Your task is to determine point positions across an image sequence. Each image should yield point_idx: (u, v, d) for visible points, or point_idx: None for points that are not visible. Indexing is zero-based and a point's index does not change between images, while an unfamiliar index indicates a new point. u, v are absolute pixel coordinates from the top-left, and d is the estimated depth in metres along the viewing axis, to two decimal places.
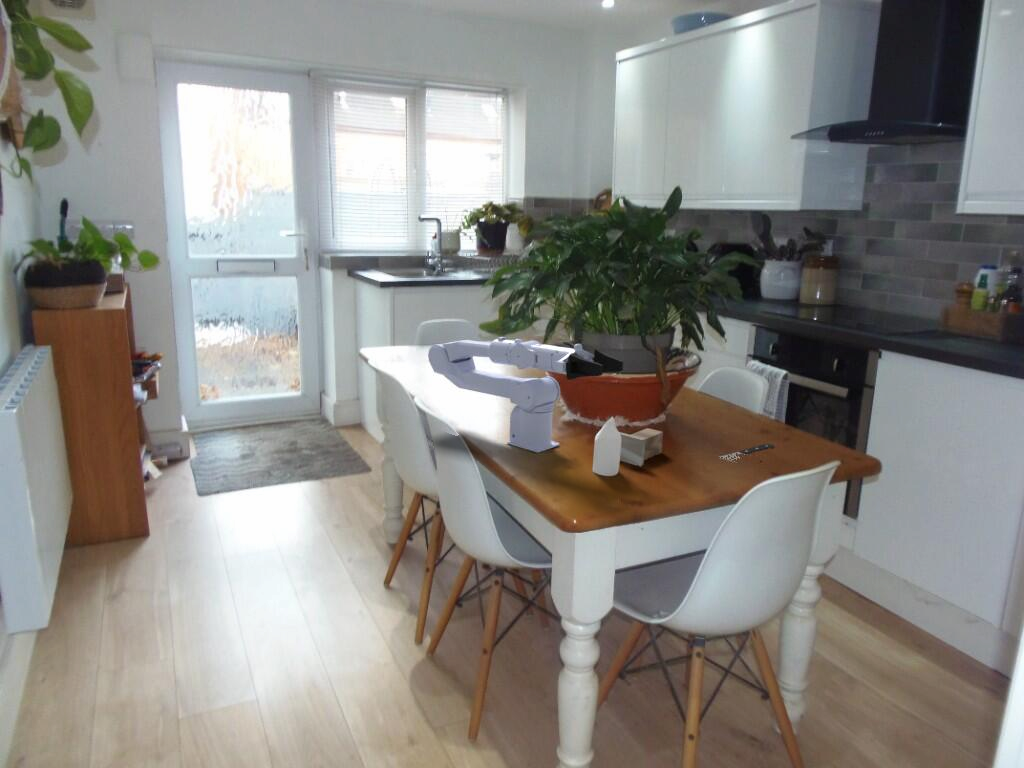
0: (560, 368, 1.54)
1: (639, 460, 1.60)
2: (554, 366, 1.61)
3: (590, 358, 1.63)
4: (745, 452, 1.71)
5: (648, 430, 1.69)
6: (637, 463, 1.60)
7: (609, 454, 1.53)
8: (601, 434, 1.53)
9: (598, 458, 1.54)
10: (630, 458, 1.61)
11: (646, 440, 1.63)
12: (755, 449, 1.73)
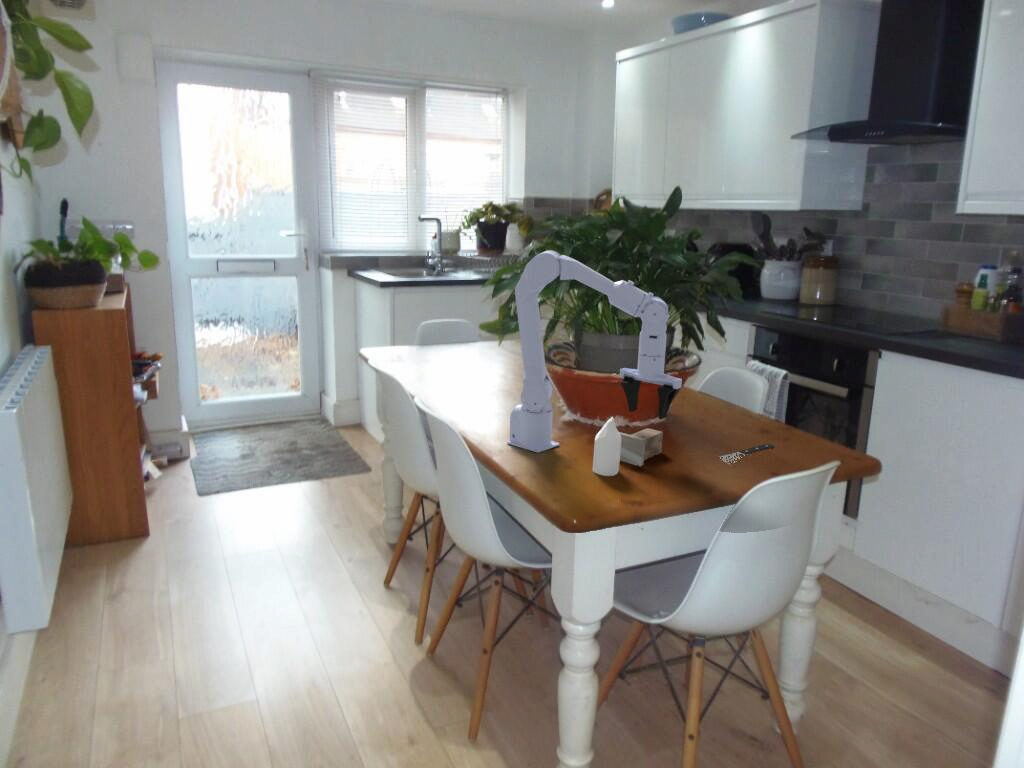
0: (678, 386, 1.58)
1: (639, 460, 1.60)
2: (659, 359, 1.60)
3: None
4: (745, 452, 1.70)
5: (648, 430, 1.69)
6: (637, 463, 1.60)
7: (609, 454, 1.53)
8: (601, 434, 1.53)
9: (598, 458, 1.54)
10: (630, 458, 1.61)
11: (646, 440, 1.63)
12: (755, 449, 1.73)
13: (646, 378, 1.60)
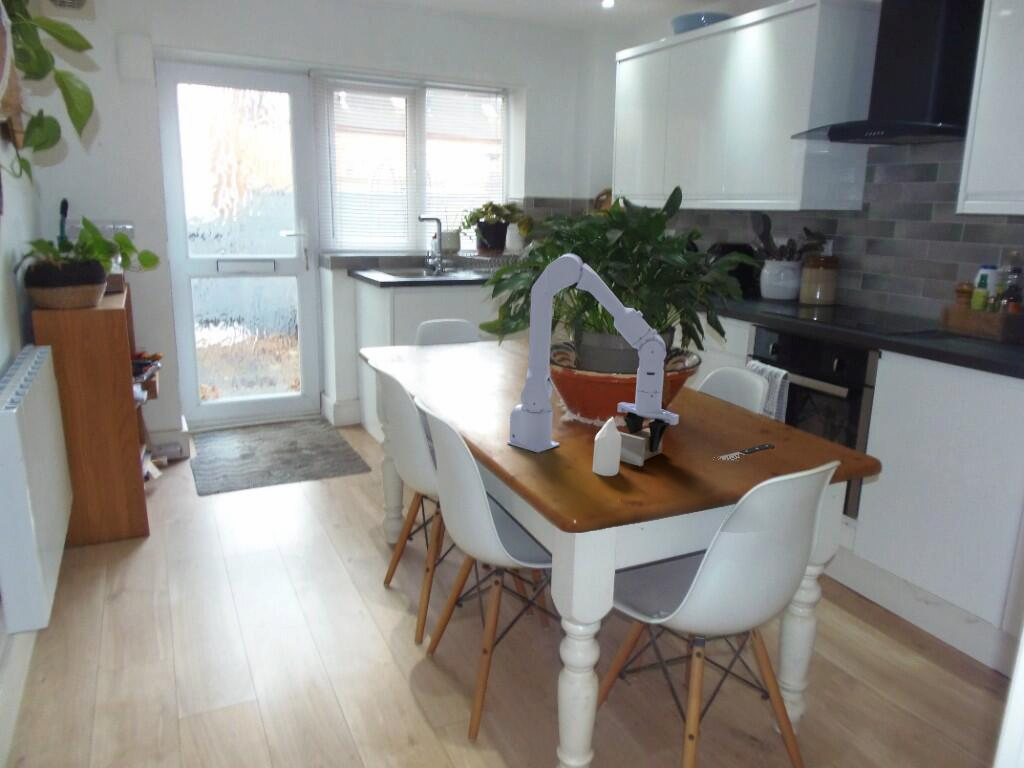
0: (675, 422, 1.60)
1: (639, 460, 1.60)
2: (656, 395, 1.62)
3: None
4: (745, 452, 1.70)
5: (648, 430, 1.69)
6: (637, 463, 1.60)
7: (609, 454, 1.53)
8: (601, 434, 1.53)
9: (598, 458, 1.54)
10: (630, 458, 1.61)
11: (646, 440, 1.63)
12: (755, 449, 1.73)
13: (643, 414, 1.62)
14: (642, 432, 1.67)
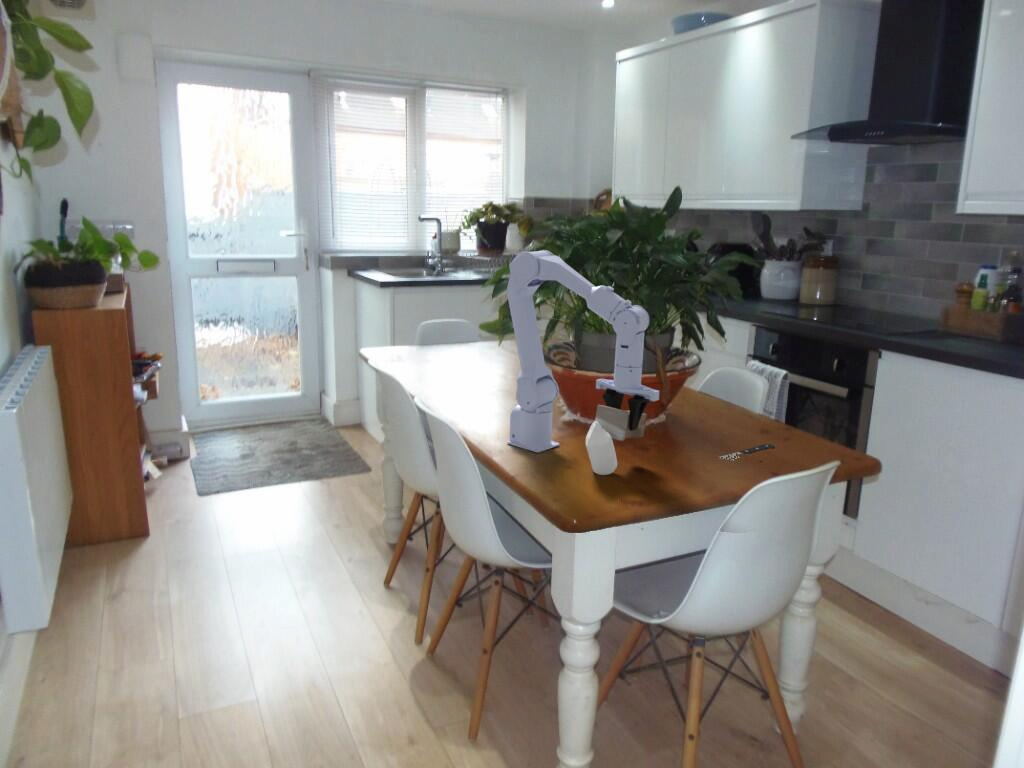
0: (655, 398, 1.52)
1: (620, 433, 1.52)
2: (635, 370, 1.53)
3: None
4: (745, 452, 1.70)
5: None
6: (618, 437, 1.53)
7: (603, 458, 1.51)
8: (589, 441, 1.50)
9: (594, 461, 1.53)
10: (611, 432, 1.54)
11: (629, 416, 1.56)
12: (755, 449, 1.73)
13: (622, 390, 1.54)
14: None
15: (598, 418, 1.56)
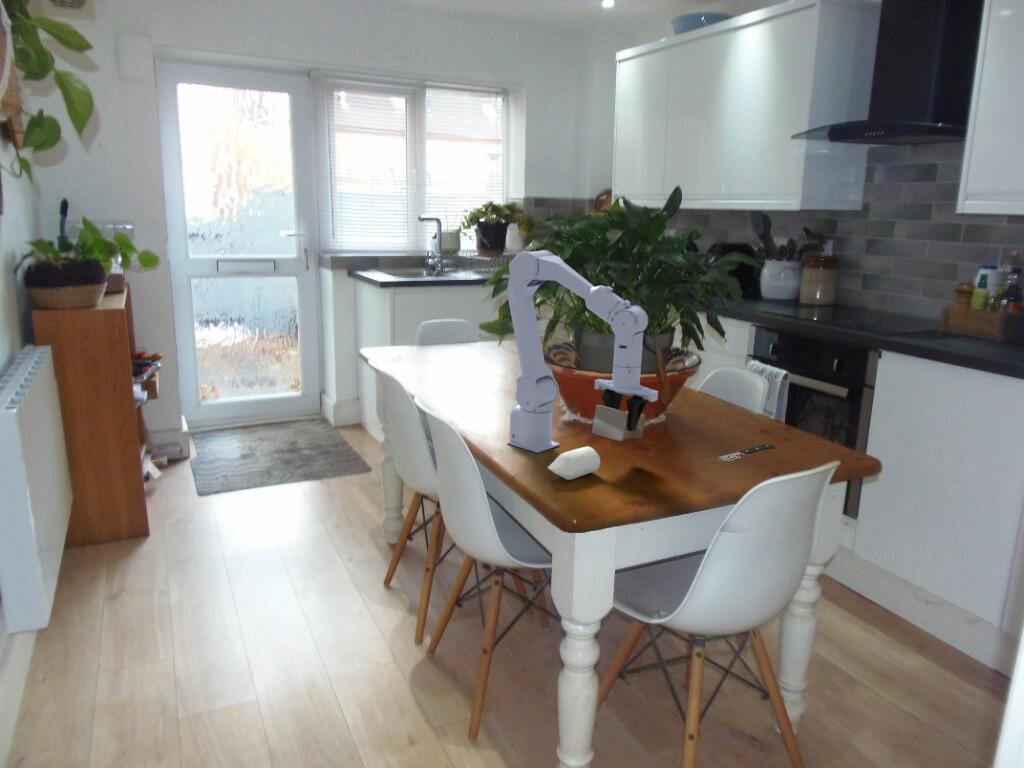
0: (654, 399, 1.52)
1: (619, 434, 1.52)
2: (634, 371, 1.53)
3: None
4: (745, 452, 1.70)
5: None
6: (616, 437, 1.52)
7: (585, 466, 1.50)
8: (567, 477, 1.49)
9: (585, 473, 1.52)
10: (609, 432, 1.53)
11: None
12: (755, 449, 1.73)
13: (621, 390, 1.54)
14: None
15: (597, 418, 1.56)
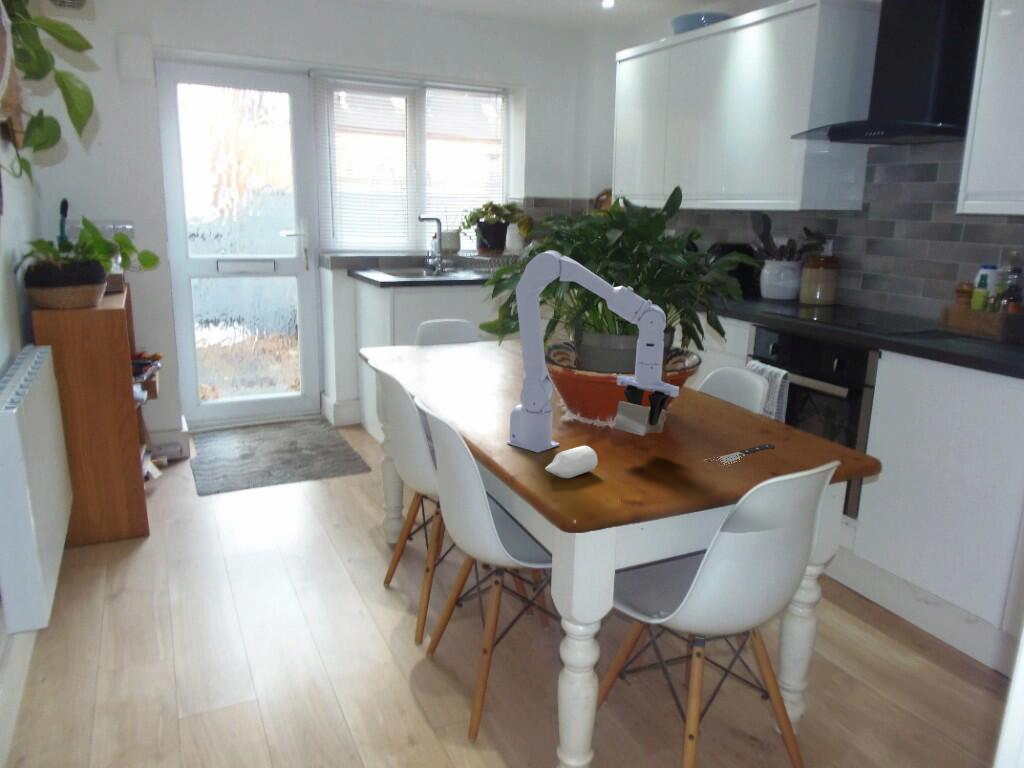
0: (675, 394, 1.58)
1: (641, 429, 1.58)
2: (656, 367, 1.59)
3: None
4: (745, 452, 1.70)
5: None
6: (639, 432, 1.59)
7: (582, 462, 1.51)
8: (565, 475, 1.49)
9: (584, 470, 1.52)
10: (632, 427, 1.60)
11: (649, 412, 1.62)
12: (755, 449, 1.73)
13: (643, 386, 1.60)
14: None
15: (619, 414, 1.62)
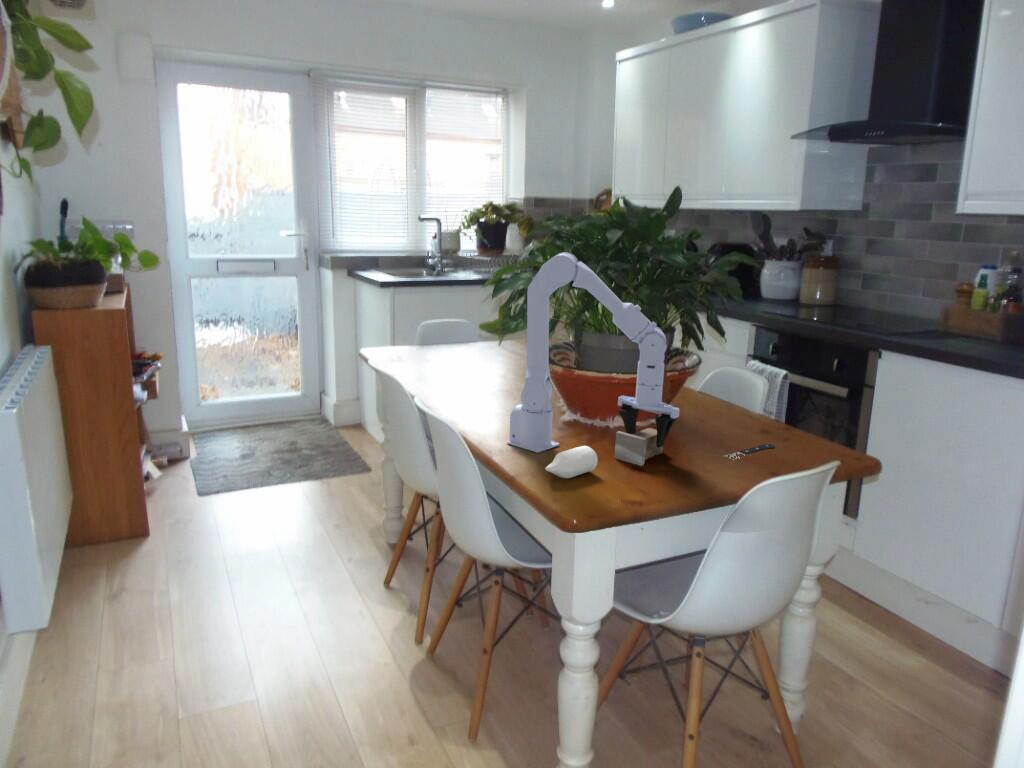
0: (675, 416, 1.60)
1: (640, 460, 1.60)
2: (657, 389, 1.61)
3: None
4: (745, 452, 1.70)
5: (649, 430, 1.69)
6: (638, 463, 1.61)
7: (582, 462, 1.51)
8: (565, 475, 1.49)
9: (584, 470, 1.52)
10: (631, 458, 1.62)
11: (647, 440, 1.63)
12: (755, 449, 1.73)
13: (644, 407, 1.62)
14: (643, 432, 1.67)
15: (618, 445, 1.64)
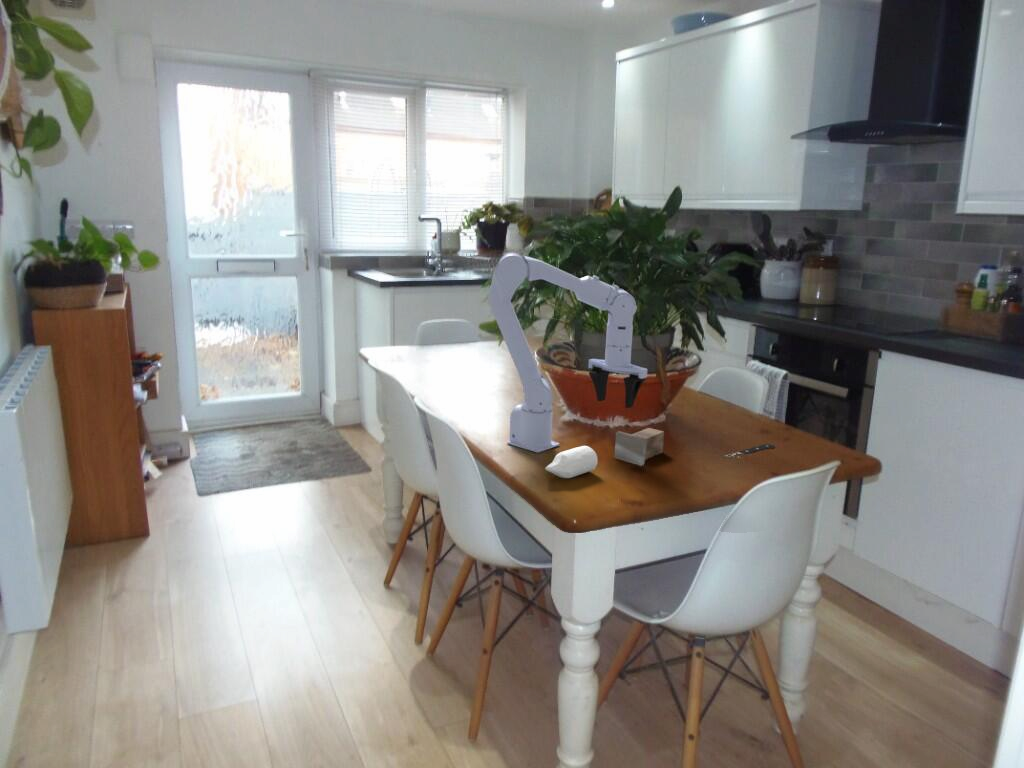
0: (643, 376, 1.63)
1: (640, 460, 1.60)
2: (625, 350, 1.64)
3: None
4: (745, 452, 1.70)
5: (649, 430, 1.69)
6: (638, 463, 1.61)
7: (582, 462, 1.51)
8: (565, 475, 1.49)
9: (584, 471, 1.52)
10: (631, 458, 1.62)
11: (647, 440, 1.63)
12: (756, 449, 1.73)
13: (613, 368, 1.65)
14: (643, 432, 1.67)
15: (618, 445, 1.64)
